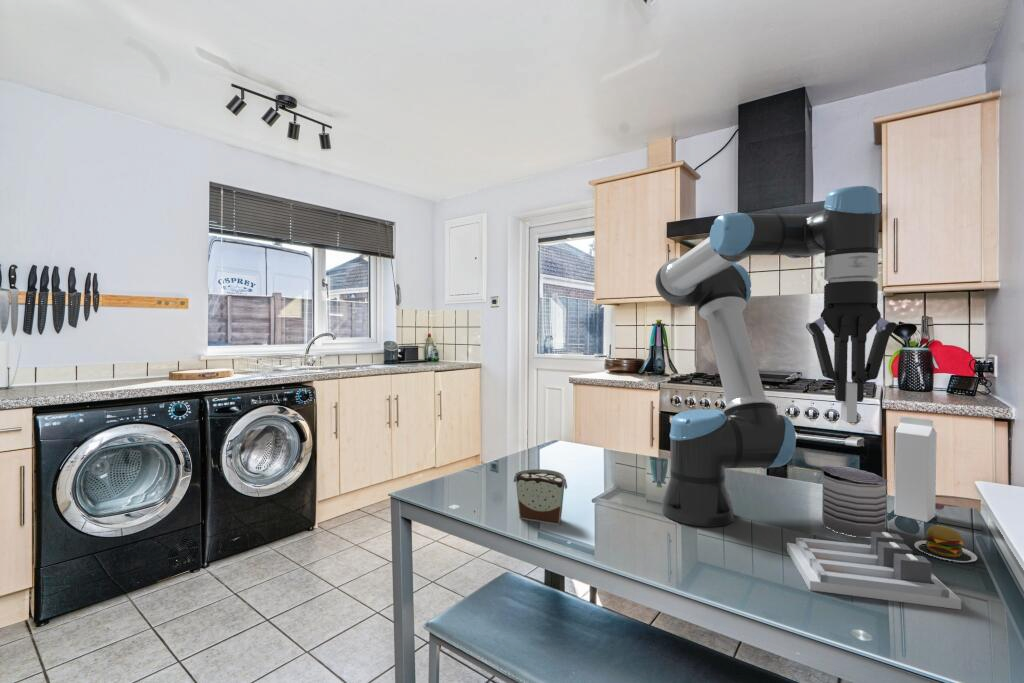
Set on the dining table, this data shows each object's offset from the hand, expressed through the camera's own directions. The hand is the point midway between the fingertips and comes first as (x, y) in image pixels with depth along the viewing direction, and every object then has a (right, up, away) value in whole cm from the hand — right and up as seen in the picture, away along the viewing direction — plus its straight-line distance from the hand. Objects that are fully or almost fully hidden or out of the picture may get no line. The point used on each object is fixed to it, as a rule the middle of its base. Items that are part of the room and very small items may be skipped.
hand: (848, 420), depth 85 cm
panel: (+2, -26, 0) cm, 27 cm away
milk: (+34, -26, +28) cm, 51 cm away
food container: (-50, -26, +27) cm, 63 cm away
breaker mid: (+7, -25, -1) cm, 26 cm away
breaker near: (+6, -25, -6) cm, 26 cm away
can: (+15, -26, +21) cm, 37 cm away
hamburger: (+24, -27, +9) cm, 37 cm away
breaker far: (+8, -25, +3) cm, 26 cm away
